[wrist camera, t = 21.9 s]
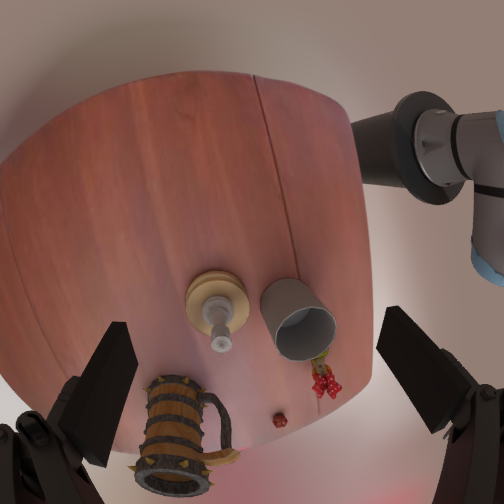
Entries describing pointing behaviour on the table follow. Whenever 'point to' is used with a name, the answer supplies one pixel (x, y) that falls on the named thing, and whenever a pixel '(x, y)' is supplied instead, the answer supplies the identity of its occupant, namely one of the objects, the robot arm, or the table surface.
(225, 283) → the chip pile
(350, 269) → the table surface
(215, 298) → the chess piece
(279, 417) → the die
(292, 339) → the cup
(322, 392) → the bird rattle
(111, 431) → the robot arm
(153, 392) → the mug
